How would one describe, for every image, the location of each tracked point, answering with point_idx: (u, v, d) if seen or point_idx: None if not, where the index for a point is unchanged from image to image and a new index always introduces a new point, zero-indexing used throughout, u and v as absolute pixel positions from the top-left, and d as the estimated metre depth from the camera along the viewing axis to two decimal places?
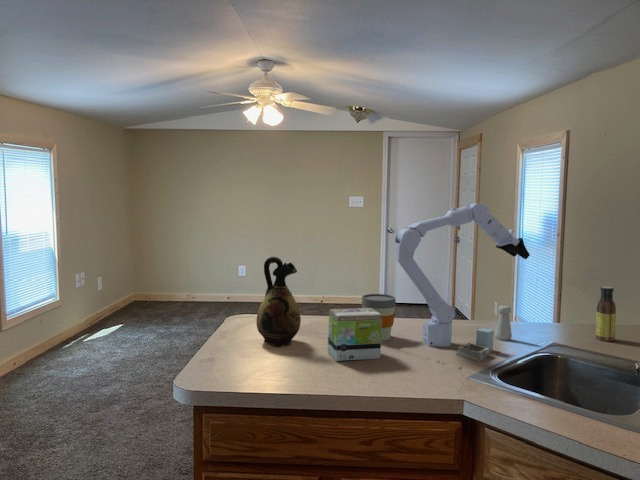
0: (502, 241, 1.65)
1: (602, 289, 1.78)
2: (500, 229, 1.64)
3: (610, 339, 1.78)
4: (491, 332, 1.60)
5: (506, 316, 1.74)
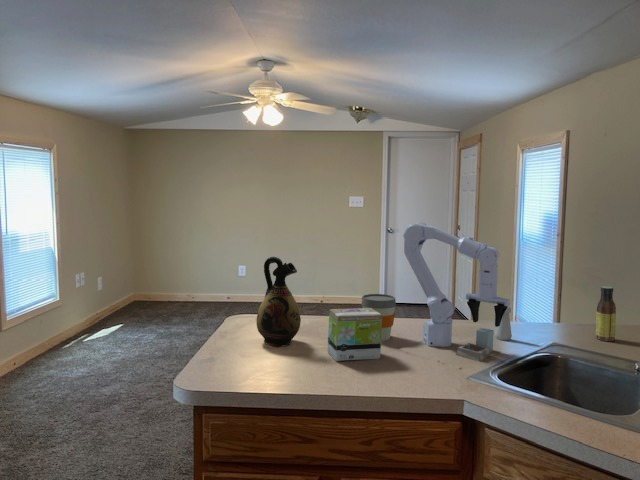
0: (491, 296, 1.57)
1: (602, 289, 1.78)
2: (496, 285, 1.58)
3: (610, 339, 1.78)
4: (491, 332, 1.60)
5: (506, 316, 1.74)
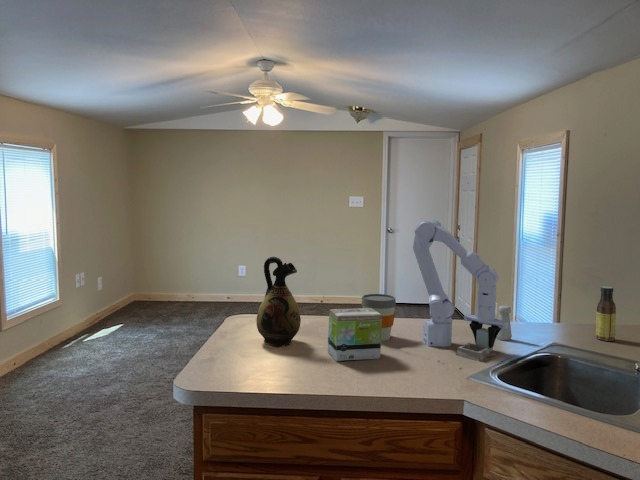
0: (489, 319, 1.58)
1: (602, 289, 1.78)
2: None
3: (610, 339, 1.78)
4: None
5: (506, 316, 1.74)
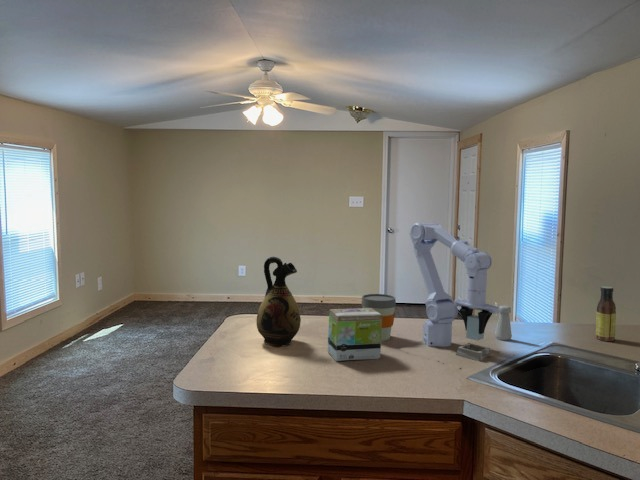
0: (480, 304, 1.52)
1: (602, 289, 1.78)
2: (485, 292, 1.53)
3: (610, 339, 1.78)
4: None
5: (506, 316, 1.74)
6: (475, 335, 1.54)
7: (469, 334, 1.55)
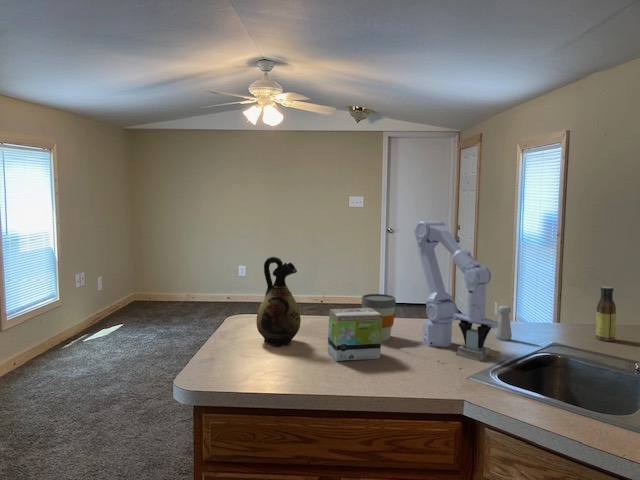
0: (479, 318, 1.52)
1: (602, 289, 1.78)
2: None
3: (610, 339, 1.78)
4: None
5: (506, 316, 1.74)
6: (474, 349, 1.54)
7: (468, 348, 1.56)
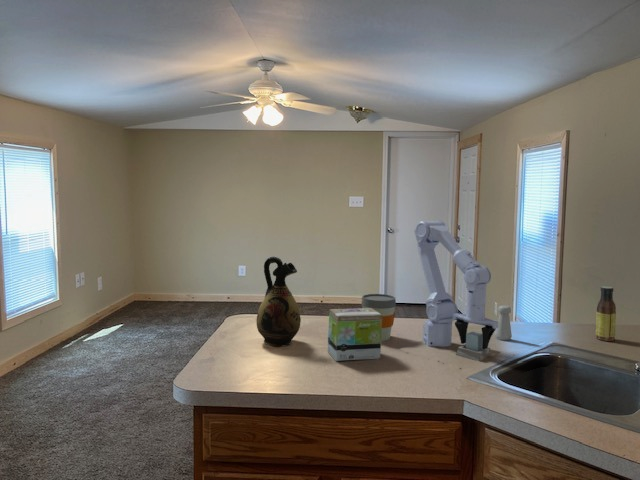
0: (479, 318, 1.52)
1: (602, 289, 1.78)
2: None
3: (610, 339, 1.78)
4: (481, 336, 1.55)
5: (506, 316, 1.74)
6: None
7: None
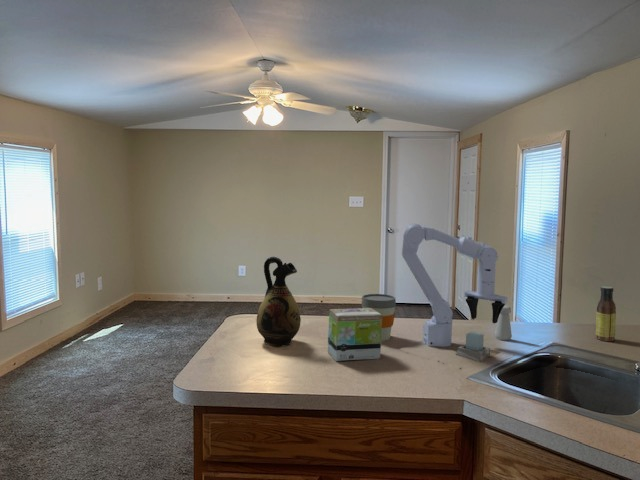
0: (489, 294, 1.62)
1: (602, 289, 1.78)
2: (494, 283, 1.63)
3: (610, 339, 1.78)
4: (481, 336, 1.55)
5: (506, 316, 1.74)
6: None
7: None
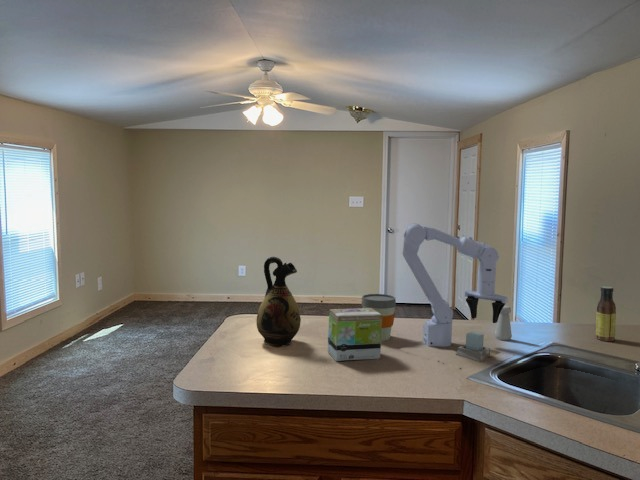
0: (489, 294, 1.63)
1: (602, 289, 1.78)
2: (494, 283, 1.63)
3: (610, 339, 1.78)
4: (481, 336, 1.55)
5: (506, 316, 1.74)
6: None
7: None
